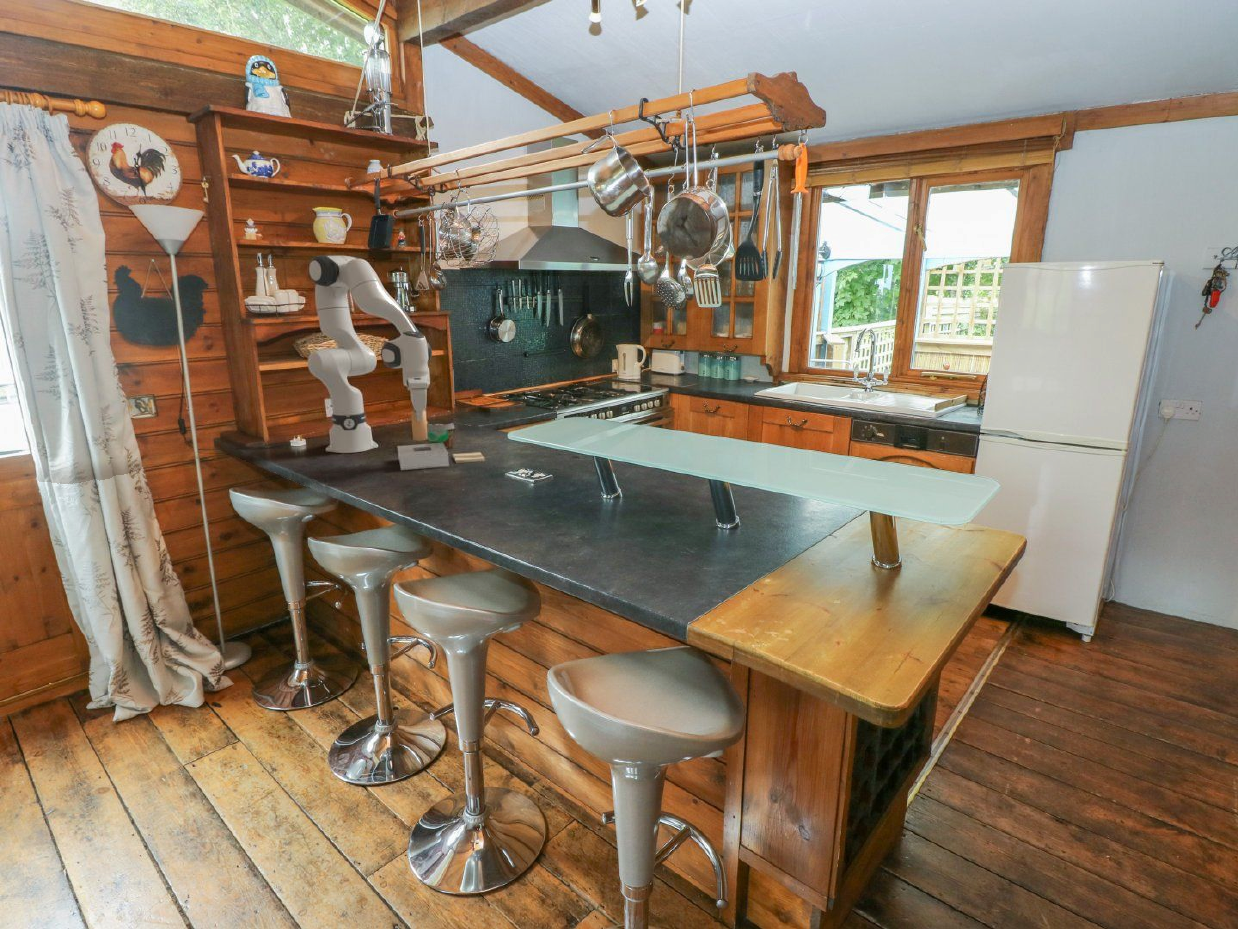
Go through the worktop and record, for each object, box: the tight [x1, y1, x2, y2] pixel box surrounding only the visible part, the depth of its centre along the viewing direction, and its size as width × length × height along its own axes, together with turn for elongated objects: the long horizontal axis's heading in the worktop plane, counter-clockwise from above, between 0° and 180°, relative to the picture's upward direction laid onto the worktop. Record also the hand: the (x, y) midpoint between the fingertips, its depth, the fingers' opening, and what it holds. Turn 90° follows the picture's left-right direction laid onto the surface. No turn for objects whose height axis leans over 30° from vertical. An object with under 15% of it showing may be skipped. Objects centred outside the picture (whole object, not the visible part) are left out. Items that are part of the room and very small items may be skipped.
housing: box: [397, 443, 450, 471], centre depth 237 cm, size 16×16×5 cm
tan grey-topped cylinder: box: [410, 408, 428, 442], centre depth 234 cm, size 5×5×11 cm
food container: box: [427, 420, 456, 451], centre depth 257 cm, size 12×6×10 cm, turn 73°
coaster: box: [452, 451, 486, 464], centre depth 243 cm, size 10×10×1 cm
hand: (419, 419), depth 234 cm, fingers closed on tan grey-topped cylinder, 5 cm apart
